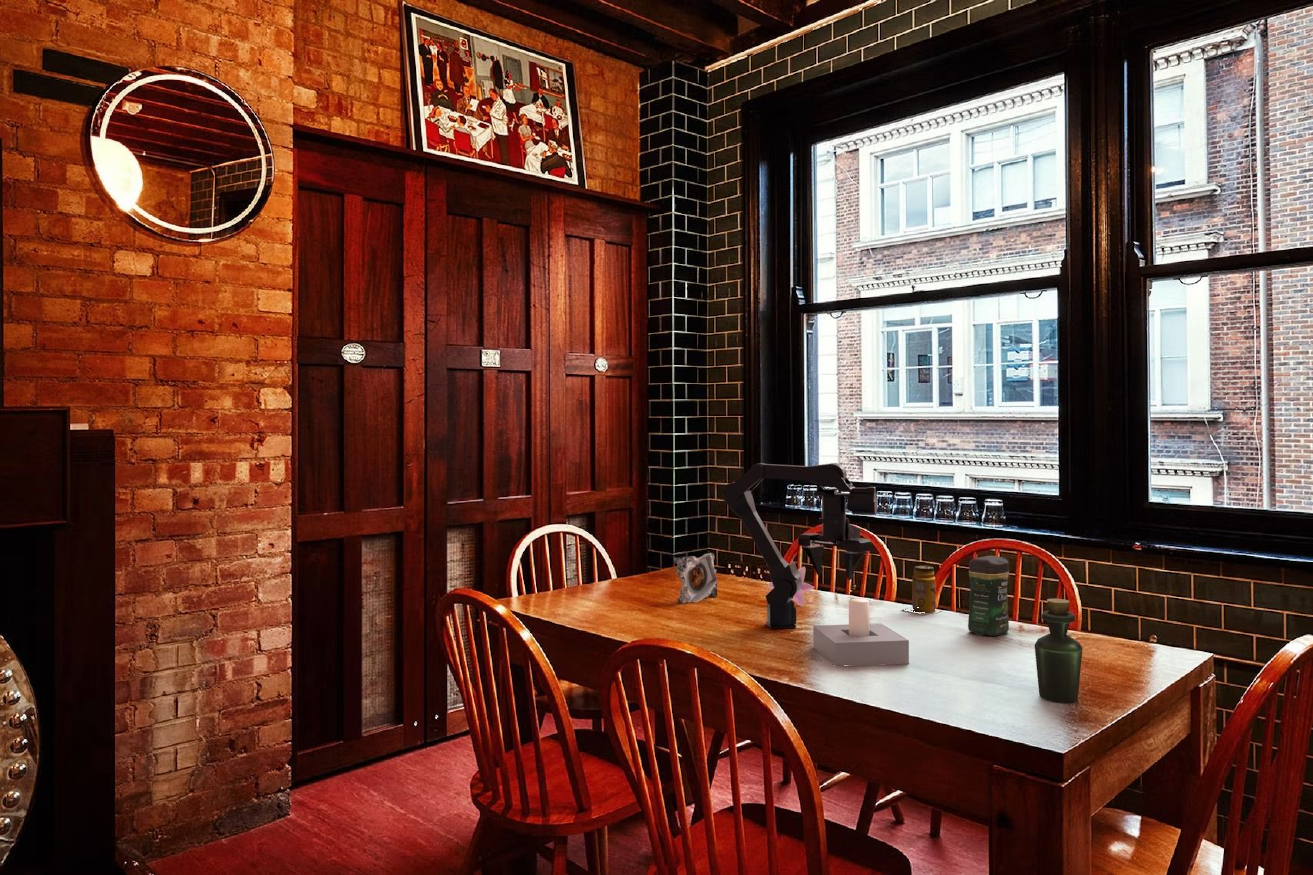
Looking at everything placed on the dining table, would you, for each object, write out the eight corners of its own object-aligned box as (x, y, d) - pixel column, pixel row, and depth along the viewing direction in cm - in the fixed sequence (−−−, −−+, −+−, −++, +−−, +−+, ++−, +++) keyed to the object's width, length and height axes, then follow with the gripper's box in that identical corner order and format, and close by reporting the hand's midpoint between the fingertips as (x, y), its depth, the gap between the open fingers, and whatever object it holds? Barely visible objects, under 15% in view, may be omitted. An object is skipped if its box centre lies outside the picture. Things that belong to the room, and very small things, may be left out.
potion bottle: (1031, 689, 167) (1031, 595, 167) (1078, 693, 165) (1078, 597, 165) (1037, 702, 160) (1037, 603, 159) (1086, 706, 157) (1086, 606, 157)
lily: (762, 605, 253) (763, 579, 249) (785, 584, 261) (786, 558, 256) (797, 623, 246) (799, 596, 242) (820, 601, 254) (822, 575, 249)
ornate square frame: (706, 595, 263) (706, 551, 263) (717, 597, 260) (717, 553, 260) (673, 603, 252) (673, 557, 252) (684, 605, 249) (684, 558, 249)
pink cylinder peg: (852, 658, 191) (852, 603, 191) (846, 653, 195) (846, 599, 195) (872, 657, 191) (872, 602, 191) (865, 652, 196) (865, 598, 196)
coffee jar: (993, 638, 207) (993, 560, 207) (963, 632, 213) (962, 556, 213) (1014, 632, 213) (1014, 555, 213) (984, 626, 219) (984, 552, 219)
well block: (835, 666, 184) (835, 642, 184) (813, 647, 200) (813, 625, 200) (908, 663, 186) (908, 640, 186) (881, 645, 202) (881, 623, 202)
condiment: (942, 611, 238) (942, 567, 238) (921, 615, 233) (921, 570, 233) (920, 607, 244) (920, 563, 244) (900, 610, 239) (899, 566, 239)
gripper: (885, 514, 215) (885, 578, 215) (823, 509, 229) (824, 569, 230) (857, 517, 208) (858, 583, 208) (796, 512, 222) (796, 574, 222)
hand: (834, 577), depth 217 cm, fingers open, 9 cm apart
